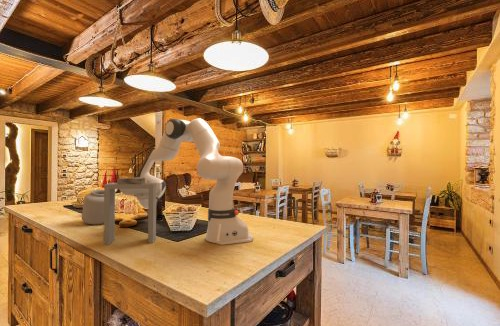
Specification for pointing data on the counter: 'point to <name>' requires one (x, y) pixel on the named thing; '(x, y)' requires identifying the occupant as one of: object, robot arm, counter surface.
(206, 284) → the counter surface
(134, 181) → the hook tool
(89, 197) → the jar
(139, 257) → the counter surface
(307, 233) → the counter surface
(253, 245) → the counter surface
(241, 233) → the robot arm
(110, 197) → the stand
